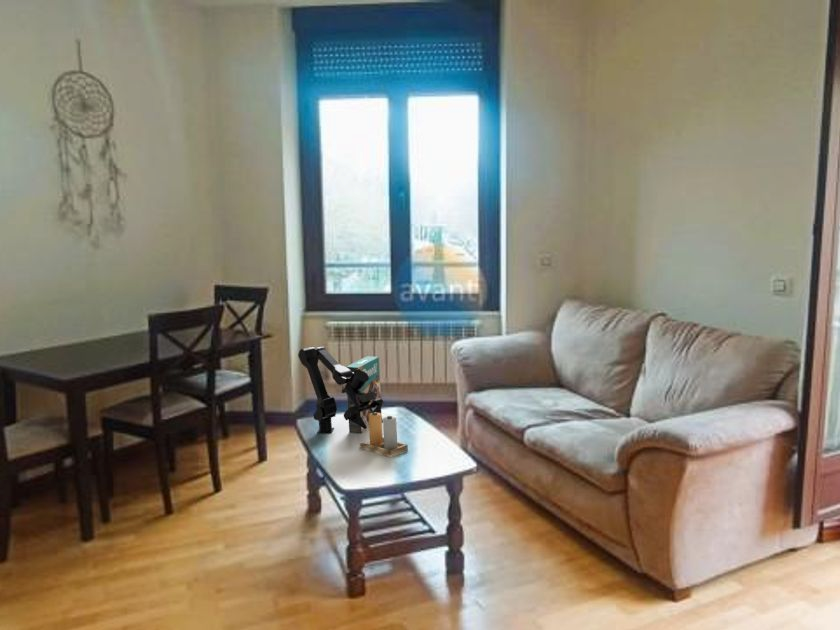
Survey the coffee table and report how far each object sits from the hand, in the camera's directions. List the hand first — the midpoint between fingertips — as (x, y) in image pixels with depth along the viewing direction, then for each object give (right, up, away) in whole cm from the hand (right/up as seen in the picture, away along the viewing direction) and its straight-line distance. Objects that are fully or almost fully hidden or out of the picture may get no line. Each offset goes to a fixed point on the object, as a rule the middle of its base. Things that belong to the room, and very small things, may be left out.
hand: (374, 425), depth 282 cm
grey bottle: (+7, -9, -5) cm, 12 cm away
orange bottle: (+1, -8, +1) cm, 8 cm away
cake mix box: (-6, -5, +30) cm, 31 cm away
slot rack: (+4, -9, -2) cm, 10 cm away
